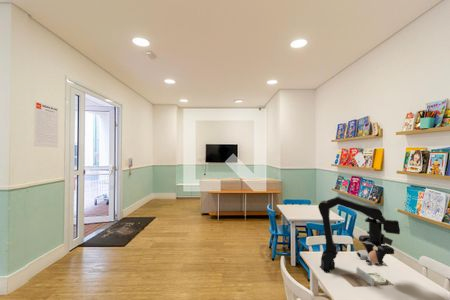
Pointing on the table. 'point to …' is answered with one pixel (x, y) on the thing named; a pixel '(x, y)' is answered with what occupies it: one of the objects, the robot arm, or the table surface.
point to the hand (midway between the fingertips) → (375, 260)
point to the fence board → (362, 279)
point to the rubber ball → (373, 257)
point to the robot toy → (367, 257)
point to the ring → (377, 278)
